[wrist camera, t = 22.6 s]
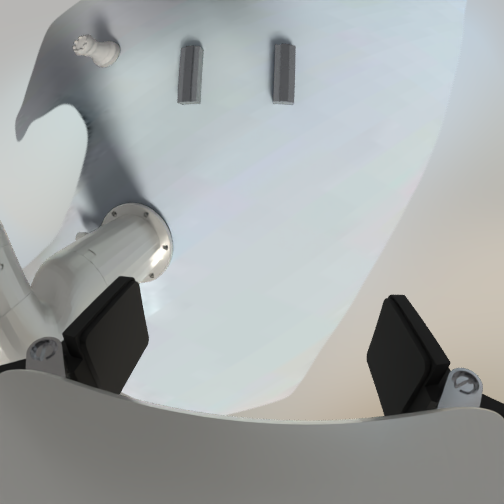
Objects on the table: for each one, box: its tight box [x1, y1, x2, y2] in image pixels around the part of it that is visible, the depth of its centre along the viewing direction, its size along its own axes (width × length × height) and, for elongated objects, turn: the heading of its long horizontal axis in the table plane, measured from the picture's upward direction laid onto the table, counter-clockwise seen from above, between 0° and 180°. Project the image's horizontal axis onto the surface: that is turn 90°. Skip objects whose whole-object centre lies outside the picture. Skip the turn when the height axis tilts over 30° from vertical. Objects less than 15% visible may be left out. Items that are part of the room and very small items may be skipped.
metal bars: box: [177, 44, 295, 105], centre depth 30 cm, size 14×8×2 cm, turn 88°
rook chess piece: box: [72, 35, 120, 68], centre depth 26 cm, size 4×4×8 cm
